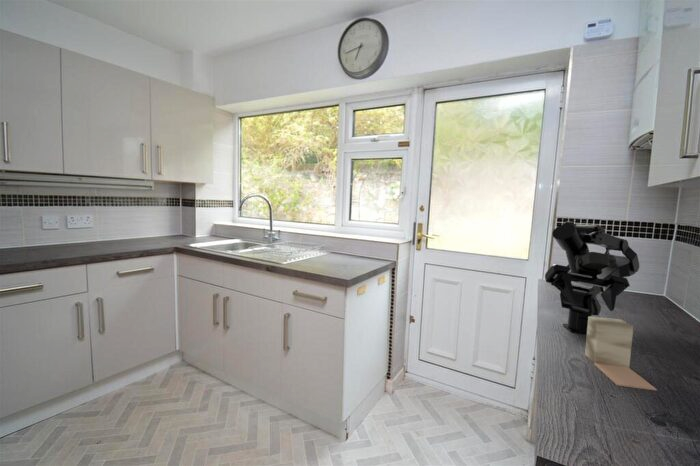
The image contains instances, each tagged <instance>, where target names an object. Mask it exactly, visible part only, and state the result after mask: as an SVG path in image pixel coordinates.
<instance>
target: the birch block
mask: <svg viewBox="0 0 700 466" xmlns="http://www.w3.org/2000/svg"><path fill="white" fill-rule="evenodd" d="M633 335H634V325H632V324H630V323H628V322H626V321H625V320H623V319H620V318H610V317H601V316H588V326H587V334H586V339H585V340H586V341H585V351H584V356H585V357H587V358H588V359H589V360H590V361H591V362H593V364H594V363H598V364H606V365H615V366H623V367H629V368H630V364H631V355H632V354H631V353H632V343H633Z"/></svg>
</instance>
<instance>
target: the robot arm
mask: <svg viewBox="0 0 700 466" xmlns="http://www.w3.org/2000/svg"><path fill="white" fill-rule="evenodd" d="M552 237H553V238H554V239H555V241H556V242H557V244H558V245H559V247H560V248H561V249H562V250H563V251H565V255H566V259H567V262H568V264H567V265H562V264H557V263H553V264H552V265H551V266H550V267H549V269H548V270H547V271H546V272H545V274H544V280H545V282H546V283H549V284H550V285H551V286H554V287H555V288H556V289H557V290H558V291H559V292H560V293H559V298H560V304H561V305H560V306H561V308H564V309H568V315H567V323H562V326H563V327H564V328H566V329H567V330H568V331H569V332H571V333H577V334H584V335H585V334H586V335H587V326H588V316H591V317H593V316H599V315H600V313H601V309H602V305H601V303H600V302H599V300H598V297H597V295H598V294H600V296H601V298H602V300H603V301H604V303H605V305H606V307H607V309H608V310H609V311H610V312H613V311H614V310H615V307H616V306H615V305H616V300H617V296H619V295H620V294H622V293H623V292H624V291H625V290H626V289H627V288H629V287H630V286H631V285H630V282H629V280H628V278H629V277H631V276H634V275H635V274H636V273H637V272H638V271H639V269H640V261H639V257H638V254H637V253H636V251H634V249H633V248H631V247H630V245H629V242H628V240H627V239H625V238H620V237H618V236H614V235H613V234H609V233H606V229H604V228H603V227H602V226H601V225H595V224H592V225H591V224H575V222H574V221H565V223H564V224H561V225H559V226H557V227H556V228H554V229H553V230H552ZM588 245H594V246H596V245H597V246H598V247H601V248H602V247H603V248H605V252H604V253H601V252H596V251H590V249H589V246H588ZM610 251H616V252H617V251H618V252H621V253H622V254H623V256H622V255H615V254H611V253H610Z"/></svg>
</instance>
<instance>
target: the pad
mask: <svg viewBox="0 0 700 466" xmlns="http://www.w3.org/2000/svg"><path fill="white" fill-rule="evenodd" d="M593 365H594V366H595V367H596V368H598V370H599V371H600V372H602V373H603V374H604V376H606V377H607V378H608V379H610V381H611V382H612V383H614V384H615V386H618V387H626V388H633V389H639V390H640V389H642V390H648V391H657V390H658V389H657V388H656V387H655V386H653V385H652V384H650V383H649V382H648V381H647V380H646V379H644V378H643V377H642V376H640V375H639V374H638V373H636V372H635V371H634V370H632V369H631V368H630V366H629V367H623V366H615V365H606V364H598V363H594V362H593ZM657 392H658V391H657Z"/></svg>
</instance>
